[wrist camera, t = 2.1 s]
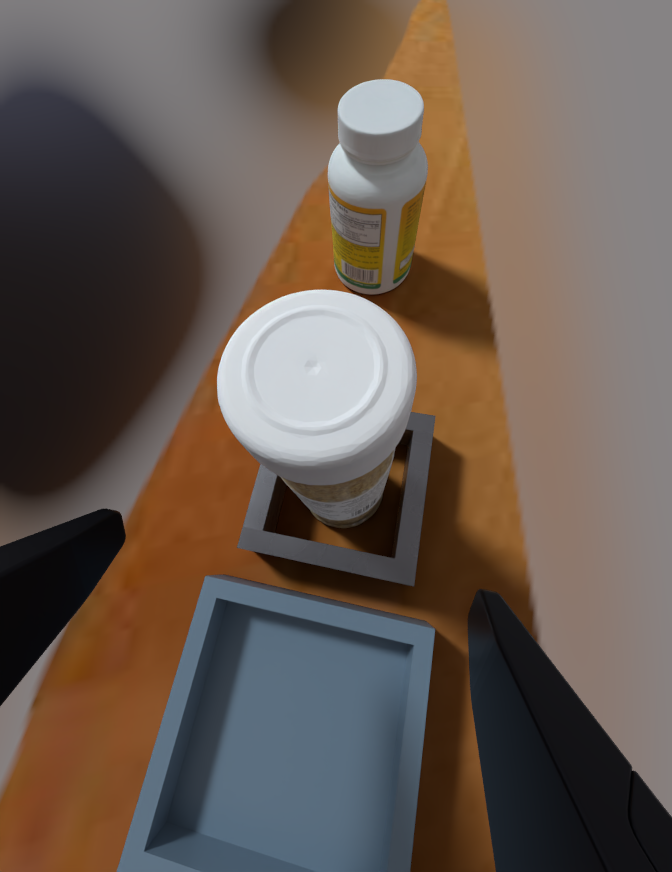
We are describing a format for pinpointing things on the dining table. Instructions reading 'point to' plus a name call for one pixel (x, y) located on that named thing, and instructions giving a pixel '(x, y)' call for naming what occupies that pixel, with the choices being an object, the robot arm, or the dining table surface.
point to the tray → (286, 738)
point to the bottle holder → (395, 569)
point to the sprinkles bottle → (321, 398)
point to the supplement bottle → (377, 184)
